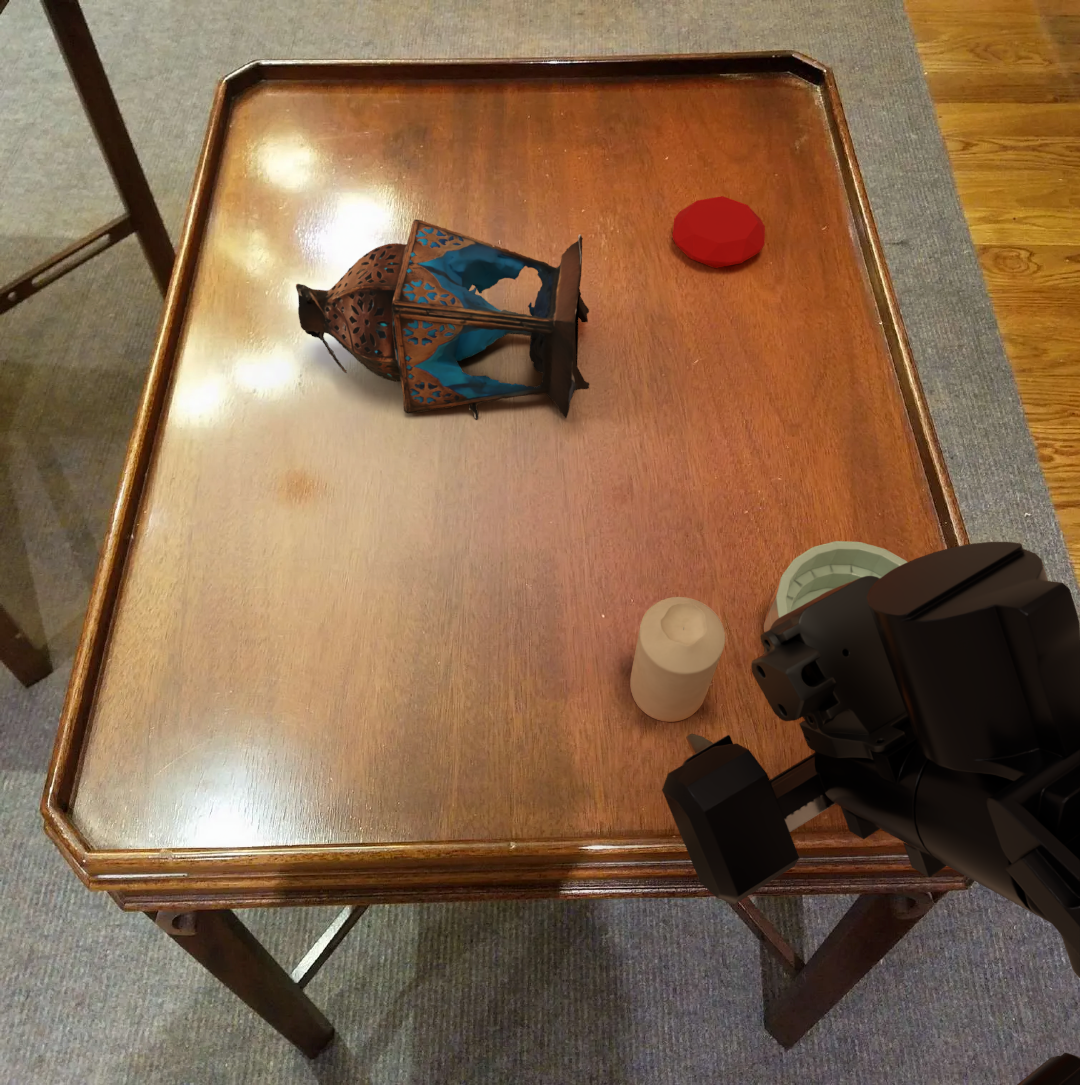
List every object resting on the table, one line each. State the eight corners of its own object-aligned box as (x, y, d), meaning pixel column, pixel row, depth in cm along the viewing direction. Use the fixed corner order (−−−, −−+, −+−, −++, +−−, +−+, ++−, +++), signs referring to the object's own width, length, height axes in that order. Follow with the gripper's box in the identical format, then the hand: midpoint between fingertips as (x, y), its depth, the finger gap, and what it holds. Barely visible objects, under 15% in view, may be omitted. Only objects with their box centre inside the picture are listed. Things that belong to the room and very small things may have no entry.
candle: (708, 723, 65) (733, 663, 56) (631, 722, 65) (643, 662, 56) (702, 652, 68) (724, 585, 59) (628, 652, 68) (639, 585, 59)
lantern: (580, 411, 88) (321, 394, 88) (594, 234, 84) (320, 215, 83) (588, 442, 73) (273, 422, 72) (606, 227, 68) (269, 204, 68)
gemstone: (713, 287, 88) (718, 263, 86) (653, 238, 92) (656, 213, 90) (780, 249, 91) (786, 224, 89) (718, 203, 95) (723, 178, 92)
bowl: (932, 715, 65) (959, 687, 61) (771, 711, 65) (786, 683, 61) (903, 577, 71) (925, 542, 67) (755, 573, 71) (769, 539, 67)
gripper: (1087, 516, 37) (844, 503, 52) (709, 733, 32) (561, 651, 47) (1154, 751, 39) (903, 675, 54) (810, 988, 35) (638, 833, 49)
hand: (759, 703), depth 51 cm, fingers open, 9 cm apart
